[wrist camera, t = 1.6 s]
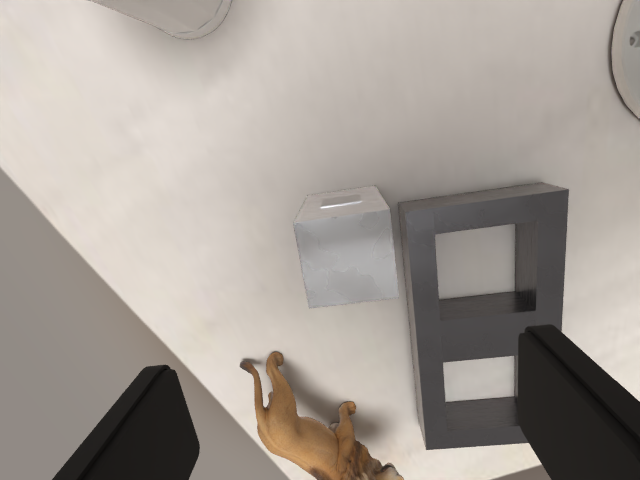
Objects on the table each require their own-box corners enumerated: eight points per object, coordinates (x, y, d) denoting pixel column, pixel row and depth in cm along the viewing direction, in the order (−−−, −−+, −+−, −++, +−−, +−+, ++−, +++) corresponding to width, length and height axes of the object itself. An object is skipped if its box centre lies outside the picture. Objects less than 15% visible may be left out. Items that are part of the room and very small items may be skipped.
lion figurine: (400, 412, 31) (423, 520, 23) (369, 451, 33) (378, 565, 24) (254, 337, 30) (220, 422, 21) (228, 381, 31) (186, 476, 23)
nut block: (375, 184, 25) (390, 208, 18) (382, 250, 27) (399, 298, 19) (307, 194, 26) (293, 221, 18) (318, 258, 27) (309, 309, 20)
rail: (542, 182, 24) (568, 189, 22) (535, 411, 30) (555, 441, 27) (398, 202, 25) (405, 211, 23) (418, 420, 31) (426, 449, 28)
